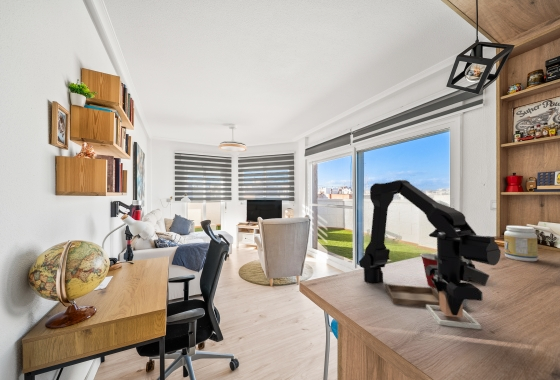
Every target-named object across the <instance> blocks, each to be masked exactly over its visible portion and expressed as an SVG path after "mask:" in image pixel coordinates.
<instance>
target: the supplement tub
mask: <svg viewBox="0 0 560 380" xmlns="http://www.w3.org/2000/svg"><path fill="white" fill-rule="evenodd" d="M505 226H506V228H505V231H504V234H503V235H504V238H503V239H504V256H505V258H508V259H511V260H515V261H523V262H536V261H538V258H539V255H538V254H539V253H538V235H537V234H536V233H535V227H532V226H526V225H525V226H524V225H505Z"/></svg>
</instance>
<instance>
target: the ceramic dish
mask: <svg viewBox="0 0 560 380" xmlns="http://www.w3.org/2000/svg"><path fill="white" fill-rule="evenodd" d="M425 309H426V310H427V311H428V312H429V313H430V315H431V316H432V317H433V319H434V320H435V321H436V322H437V323H438V325H441V326H449V327H460V328H466V329H468V328H469V329H475V330H481V329H482V325H481V324H480V322H478V321H477V320H476V319H475V318H473V317H472V315H470V314H469V313H468V312H467V311H466V310H465V309H463V317H465V318H466V319H467V320H468V321H469V322H466V321H456V320H455V321H454V320H447V319H446V320H445V319H441V318H440V317H439V316H438V314H437V313H436V312H435V310H438V311H441V309H440V306H439V305H428V304H426V307H425Z"/></svg>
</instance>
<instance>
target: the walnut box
mask: <svg viewBox="0 0 560 380" xmlns="http://www.w3.org/2000/svg"><path fill="white" fill-rule="evenodd" d="M384 286H385V287H384V288H385V291H386V293H387V295H388V297H389V299H390V300H391V302H392V304H393V305H405V306H406V305H407V306H414V307H415V306H418V307H425V308H426V304H428V305H439V294H438V292H437V290H436V288H433V287H431V286H428V287H426V286H416V285H401V284H392V283H391V284H390V283H384Z"/></svg>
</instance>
